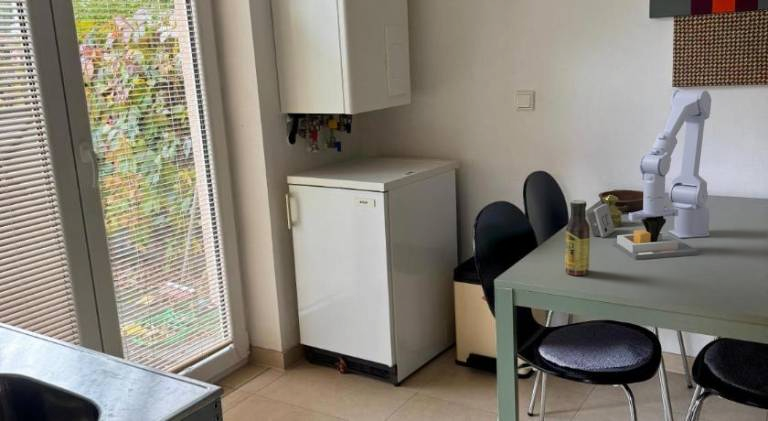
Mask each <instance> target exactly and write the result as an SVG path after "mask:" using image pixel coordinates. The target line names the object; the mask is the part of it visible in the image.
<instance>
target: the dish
mask: <svg viewBox="0 0 768 421" xmlns="http://www.w3.org/2000/svg"><path fill="white" fill-rule="evenodd" d="M608 195H613V196H615V197H617V198H618V201H617V202H616V203H615V206H616V207H617V208H618V209H619V210H620V211H621V212H622V213H624V212H637V211H640V210H643V195H644V191H640V190H632V189H631V190H630V189H620V190H619V189H618V190H616V189H615V190H607V191H604V192H600V193H599V194H598V197H599V199H600V201H601V204H602V205H603V204H606V203H605V201H603V198H604V197H606V196H608Z"/></svg>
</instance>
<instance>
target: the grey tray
mask: <svg viewBox="0 0 768 421" xmlns="http://www.w3.org/2000/svg"><path fill="white" fill-rule="evenodd" d="M612 246H614V247H616V248H617V249H619V250H620V251H622V252H623V253H625V254H626V255H628V256H629V257H630V258H632V259H633V260H635V261H636V260H637V261H638V260H649V259H650V258H651V259H661V257H663V258H673V257H686V256H697V255H698V254H699V253H698V252H699V251H698V249H696V248H694V247H692V246H690V245H688V244H687V243H685V242H683V241H681V240H679V239H678V238H675V237H673V236H672V235H666V236H664V235H663V232H662V231H660V233H659V236H658V239H657V242H650V243H638V244H635V243H634V233H629V234H617V238H616V239H615V240H612Z"/></svg>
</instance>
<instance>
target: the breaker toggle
mask: <svg viewBox="0 0 768 421" xmlns="http://www.w3.org/2000/svg"><path fill="white" fill-rule="evenodd" d="M633 234H634V243H635V244H638V243H650V240H651V234H650V233H649V232H647V231H646V229H637V230H633Z"/></svg>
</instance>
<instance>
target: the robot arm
mask: <svg viewBox="0 0 768 421" xmlns="http://www.w3.org/2000/svg"><path fill="white" fill-rule="evenodd" d="M669 99H670V101H669V108H670V113H669V116H668V119H667V122H666V125H665V127H664V130H663V131H662V132H660V133H657V136H656V138H655V140H654V142H653V144H652V146H651V148H650V150H649V152H648V153H647V154H646V155H644V156H642V158H641V161H640V164H639V169H640V173H641V180H642V181H643V192H644V195H643V208H642V209H640V210H636V211H632V212H628V220H630V221H631V222H634V221H638V220H641V223H642V224H643V227H644V228H645V231H647V232H649V233H650V234H651V240H650V242H657V239H658V236H659V233H660V232H662V229H663V227H664V226H665V224H666V222H667V220H666V217H673V216H674V221H673V222H674V224H673V229H669V230H668V233H670V234H672V235H673V236H675V237H677V238H679V239H687V238H688V239H689V238H699V237H700V238H701V237H710V236H711V234H710V233H709V232H710V210H709V209H708V207H707V206H706V203H707V202H708V196H709V195H708V194H709V193H708V182H707V181H706V180H705V179H704V178H702V177H701V175H700V174H699V173H700V163H701V156H702V149H703V148H702V146H703V138H704V137H703V136H704V131H705V130H704V129H705V121H706V120H708V119H709V118H710V114H711V109H712V108H711V106H712V97H711V95H710V92H709V91H708V90H707V89H705V90H681V89H680V90H678V89H676V90H674V91H673V92H672V94H671V96H670V98H669ZM684 123H685V130H684V141H683V149H682V150H683V151H682V160H681V167H680V168H681V169H680V174H679V175H677V176H675V177H674V178H673V179H672V180H671V185H670V187H669V190H668V199H669V202H670V203H671V204H672V207H673V208H672V207H671V208H665V202H666V176H667V175H668V173H669V172H670V170H671V161H672V155H673V152H674V150H675V148H676V147H677V144H678V138H677V135H678V133H679V132H680V130H681V128H682V127H683V125H684Z"/></svg>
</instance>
